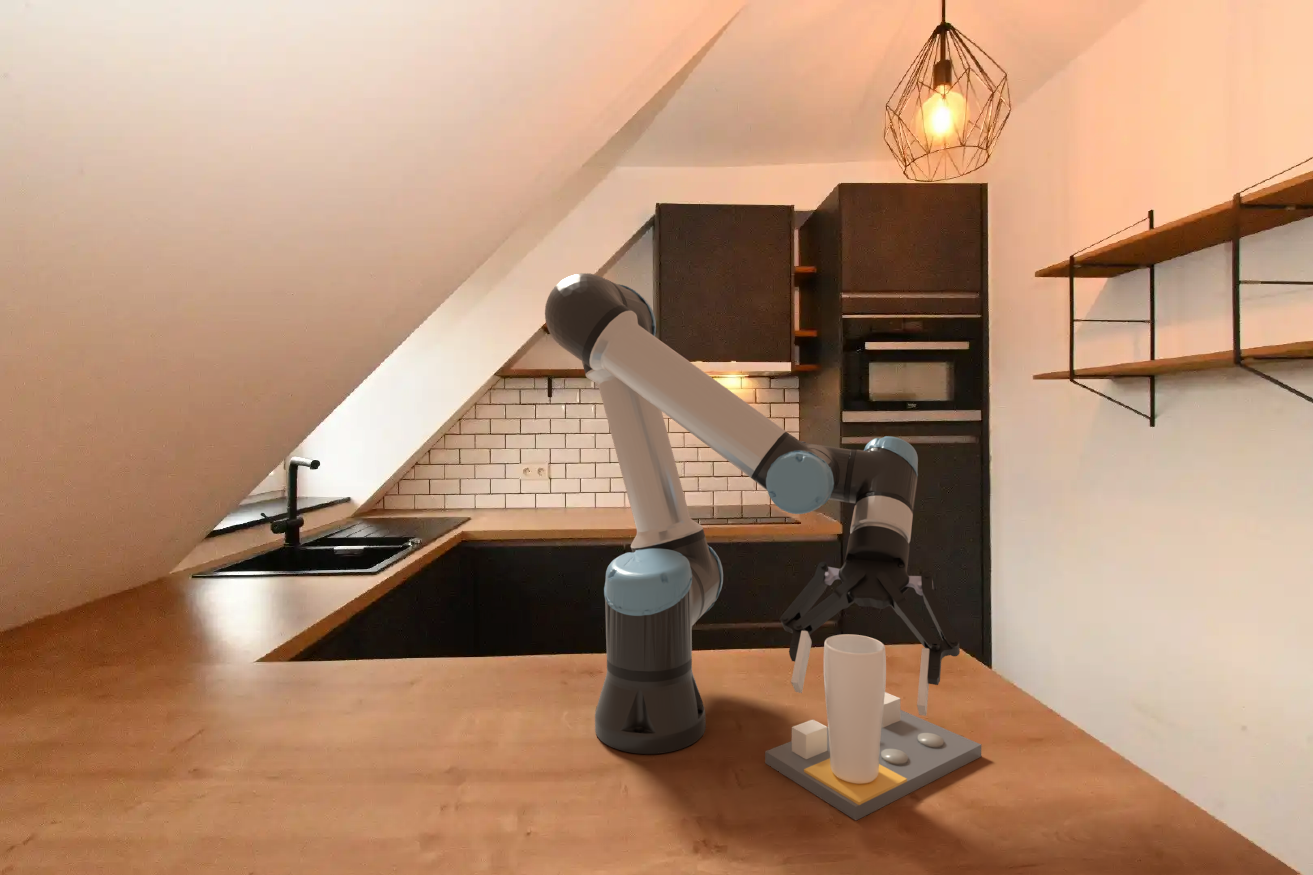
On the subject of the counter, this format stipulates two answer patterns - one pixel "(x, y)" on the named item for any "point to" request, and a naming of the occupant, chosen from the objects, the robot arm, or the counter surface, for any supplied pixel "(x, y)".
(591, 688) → the counter surface
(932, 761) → the game board
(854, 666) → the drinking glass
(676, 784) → the counter surface
